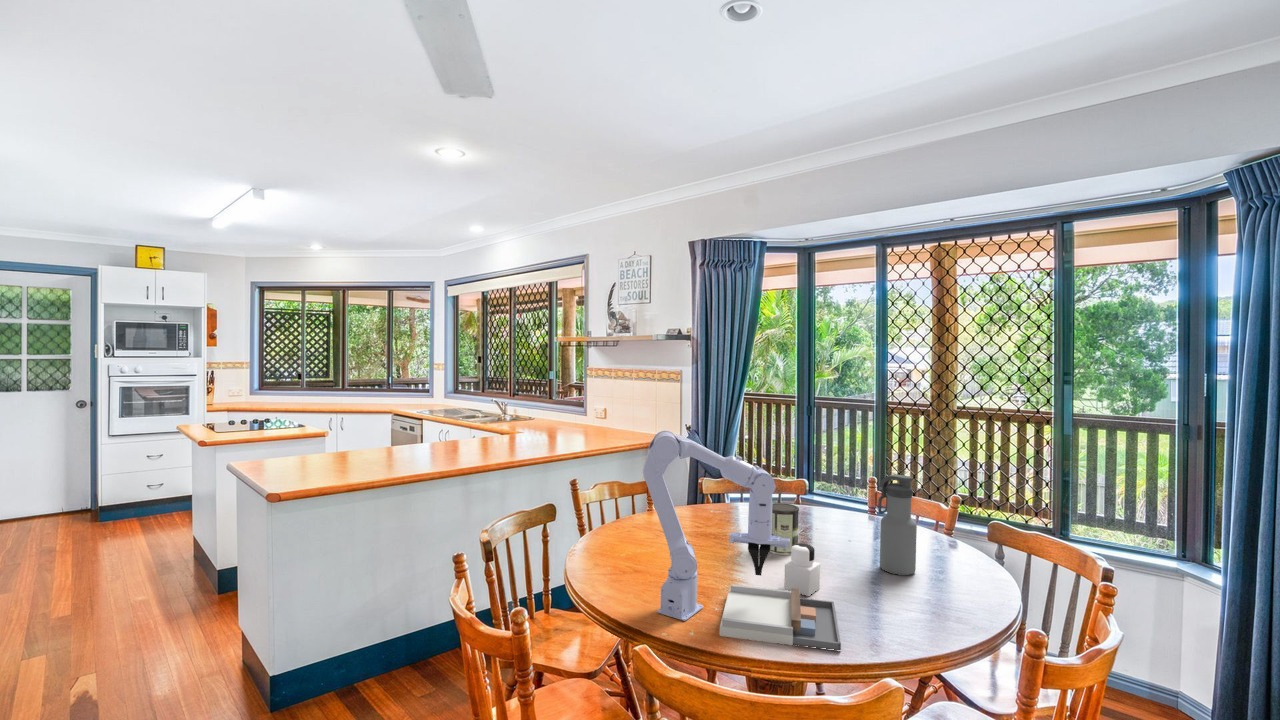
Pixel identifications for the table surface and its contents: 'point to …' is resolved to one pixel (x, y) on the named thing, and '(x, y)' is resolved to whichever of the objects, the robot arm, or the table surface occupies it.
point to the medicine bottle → (802, 570)
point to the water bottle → (897, 526)
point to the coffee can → (784, 525)
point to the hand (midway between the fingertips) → (758, 573)
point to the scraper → (795, 610)
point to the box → (820, 626)
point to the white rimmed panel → (758, 615)
